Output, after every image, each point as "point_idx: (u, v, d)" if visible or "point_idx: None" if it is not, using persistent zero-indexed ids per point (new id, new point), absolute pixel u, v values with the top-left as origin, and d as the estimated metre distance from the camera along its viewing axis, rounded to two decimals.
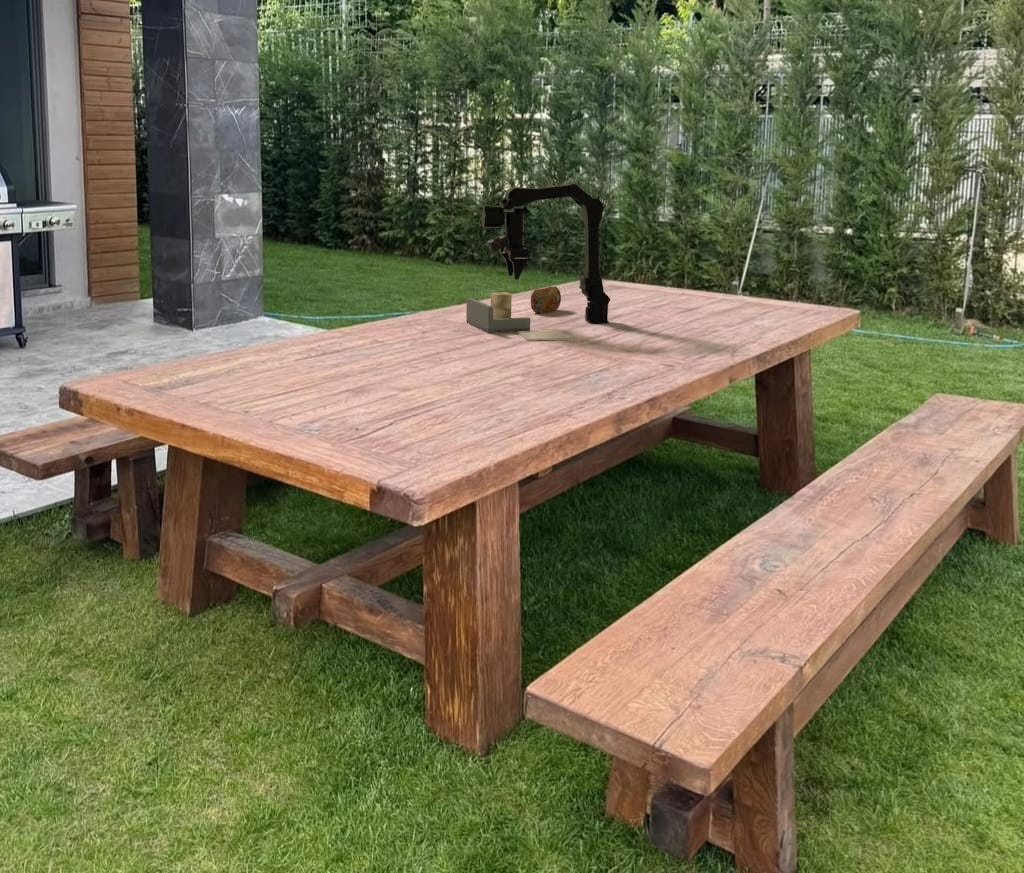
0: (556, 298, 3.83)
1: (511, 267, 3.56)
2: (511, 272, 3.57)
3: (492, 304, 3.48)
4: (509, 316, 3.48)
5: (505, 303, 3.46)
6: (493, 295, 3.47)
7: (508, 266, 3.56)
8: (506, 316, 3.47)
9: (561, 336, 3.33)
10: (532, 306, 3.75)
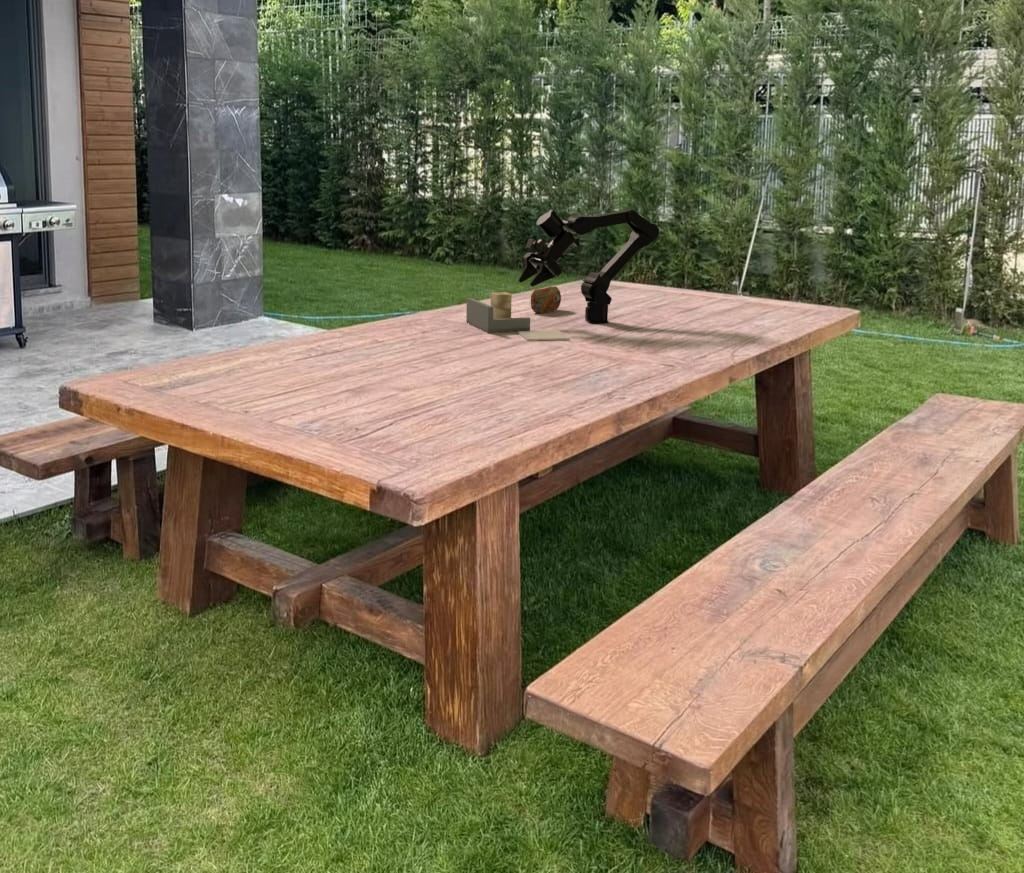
0: (556, 298, 3.83)
1: (525, 276, 3.54)
2: (522, 279, 3.54)
3: (492, 304, 3.48)
4: (509, 316, 3.48)
5: (505, 303, 3.46)
6: (493, 295, 3.47)
7: (524, 273, 3.53)
8: (506, 316, 3.47)
9: (561, 336, 3.33)
10: (532, 306, 3.75)
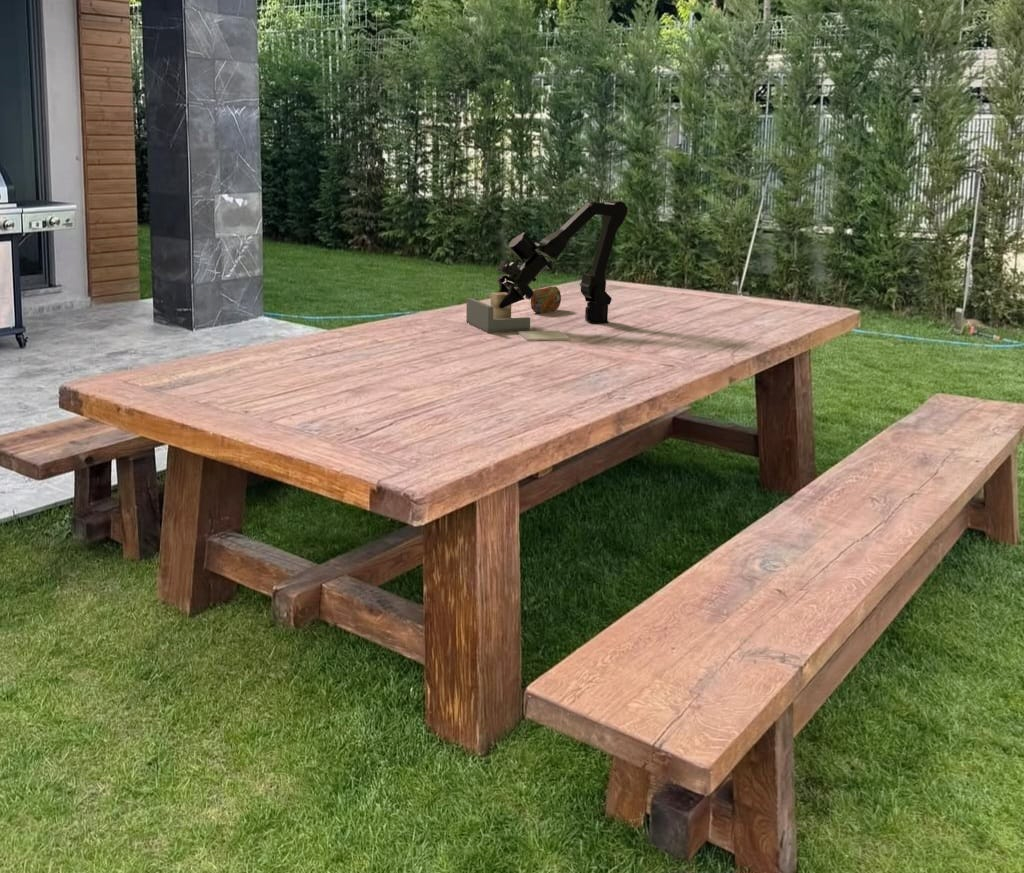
0: (556, 298, 3.83)
1: None
2: None
3: (492, 304, 3.48)
4: (509, 316, 3.48)
5: None
6: (493, 295, 3.47)
7: None
8: (506, 316, 3.47)
9: (561, 336, 3.33)
10: (532, 306, 3.75)
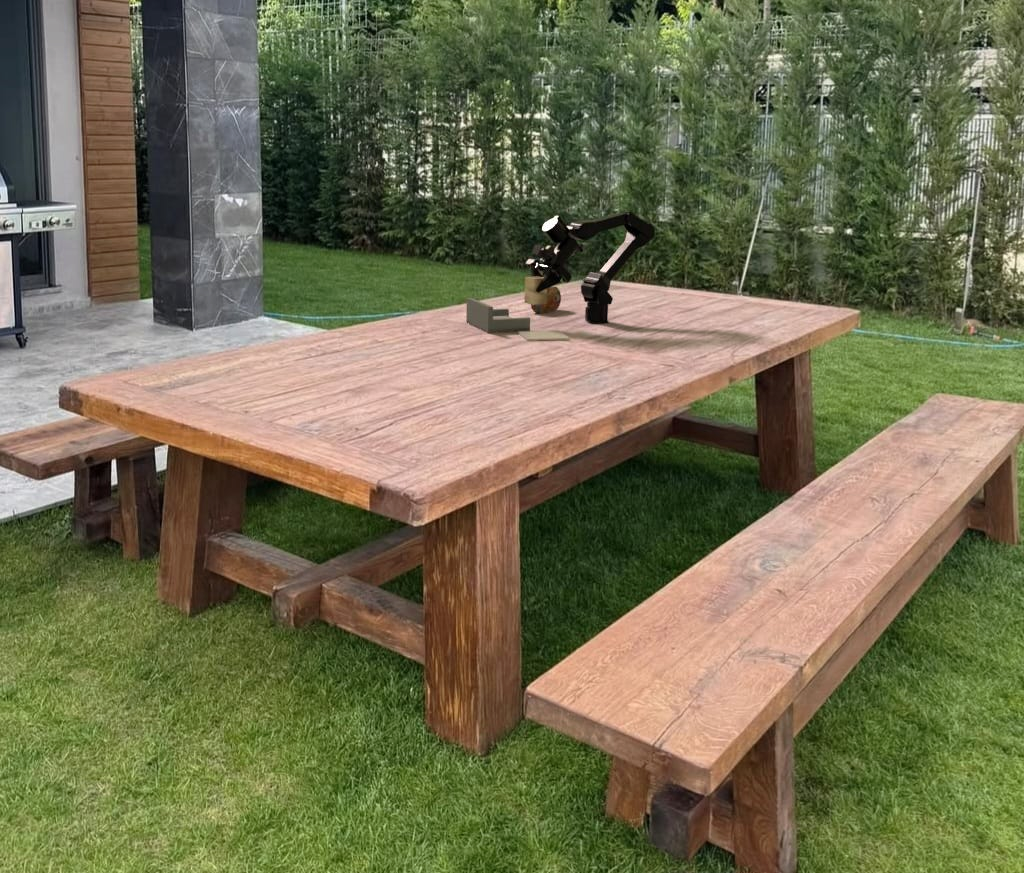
0: (556, 298, 3.83)
1: None
2: None
3: (527, 288, 3.46)
4: (545, 300, 3.47)
5: None
6: (529, 279, 3.45)
7: None
8: (542, 300, 3.46)
9: (561, 336, 3.33)
10: (532, 306, 3.75)
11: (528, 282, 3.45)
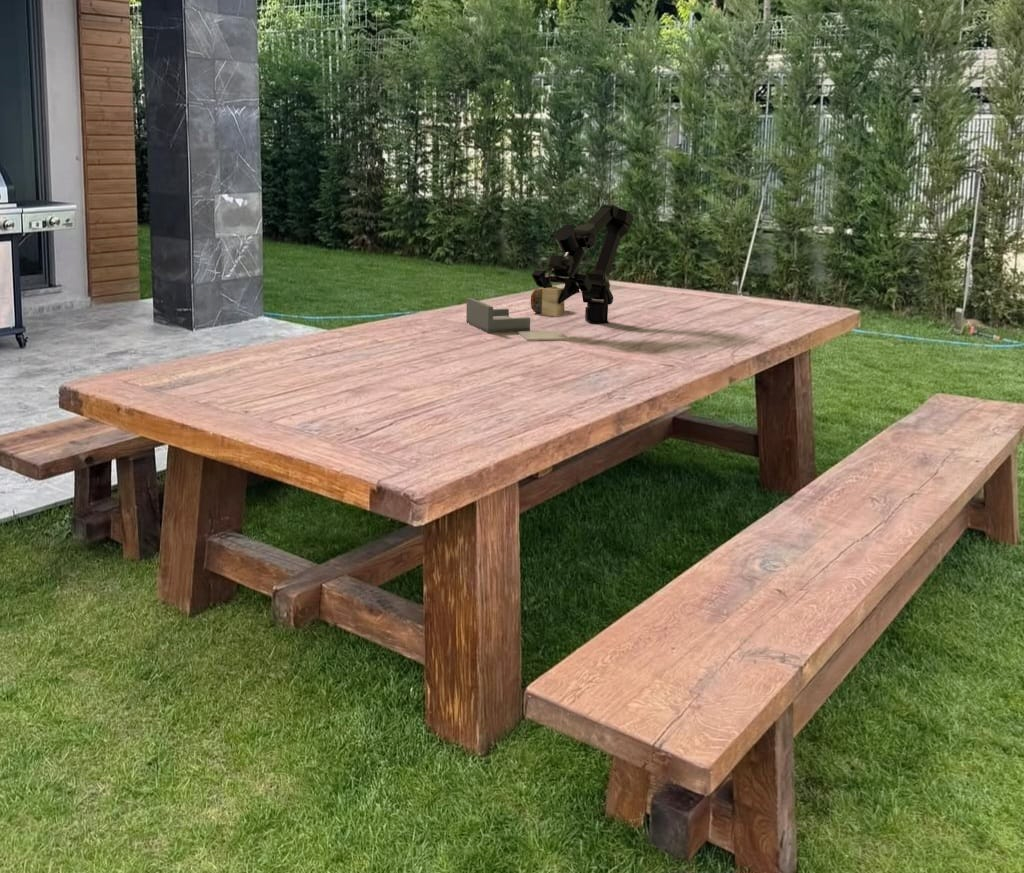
0: None
1: None
2: None
3: (546, 300, 3.35)
4: (563, 311, 3.38)
5: None
6: (548, 291, 3.34)
7: None
8: (561, 311, 3.37)
9: (561, 336, 3.33)
10: (532, 306, 3.75)
11: (548, 293, 3.34)
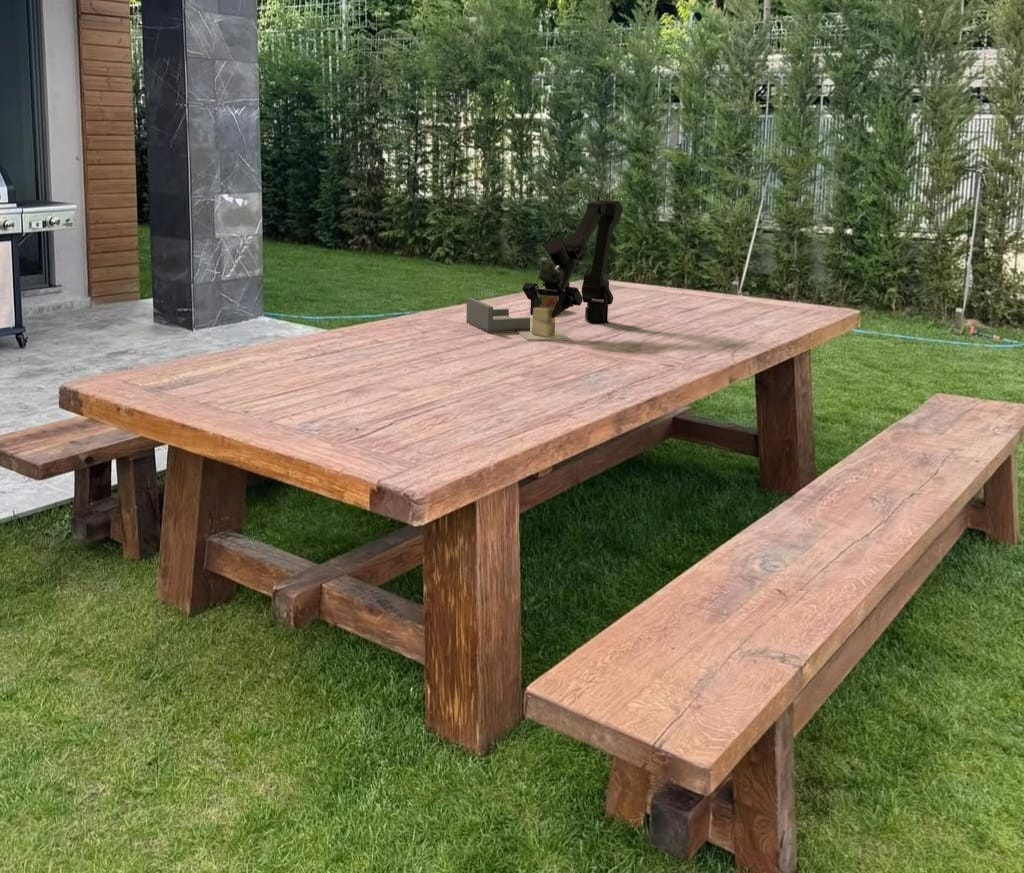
0: (556, 298, 3.83)
1: None
2: None
3: (536, 320, 3.32)
4: (553, 331, 3.35)
5: (552, 318, 3.33)
6: (539, 310, 3.31)
7: (534, 305, 3.35)
8: (552, 331, 3.34)
9: (561, 336, 3.33)
10: None
11: (538, 313, 3.31)
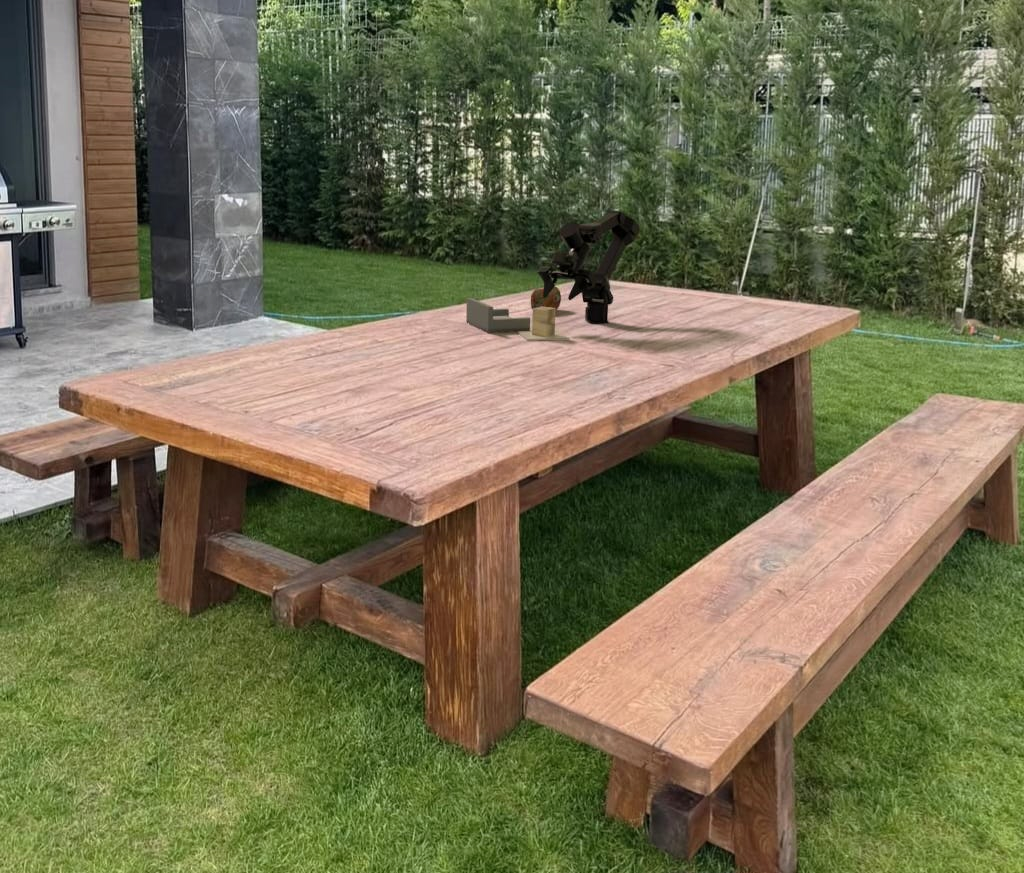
0: (556, 298, 3.83)
1: (548, 291, 3.43)
2: (546, 295, 3.42)
3: (536, 320, 3.32)
4: (553, 331, 3.35)
5: (552, 318, 3.33)
6: (539, 311, 3.31)
7: (546, 288, 3.42)
8: (552, 331, 3.34)
9: (561, 336, 3.33)
10: (532, 306, 3.75)
11: (538, 313, 3.31)
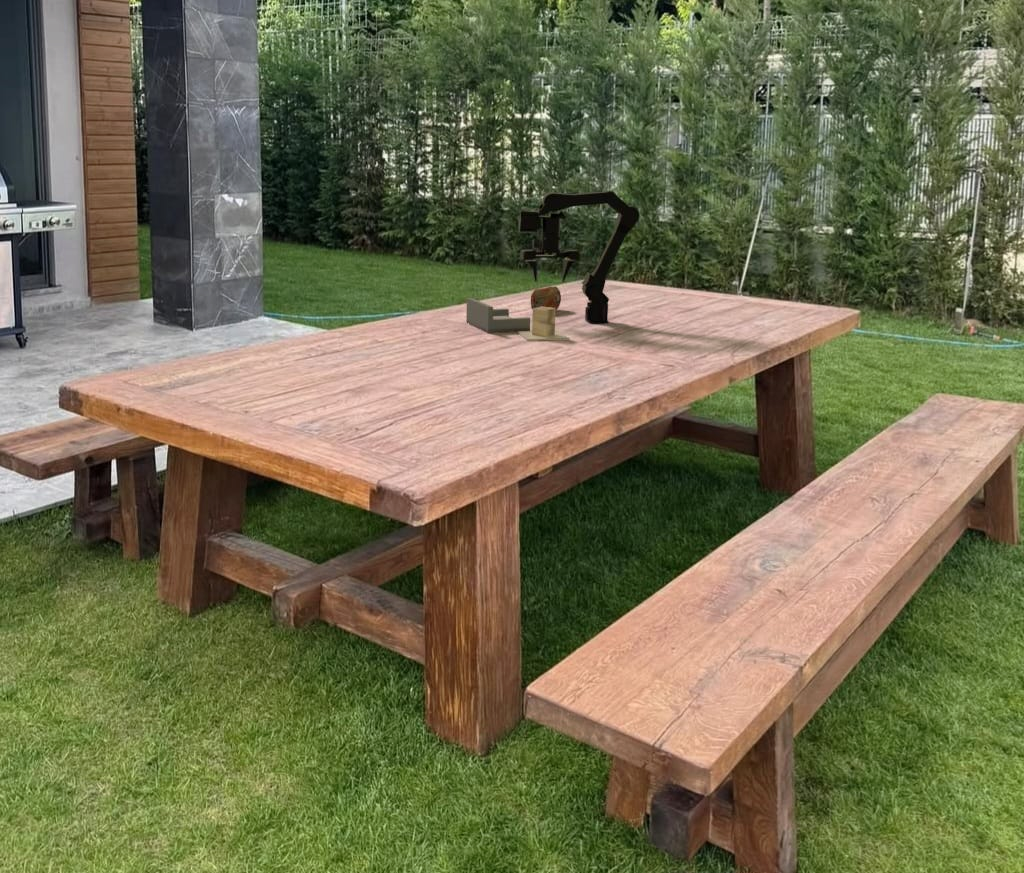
0: (556, 298, 3.83)
1: (563, 273, 3.58)
2: (562, 278, 3.58)
3: (536, 320, 3.32)
4: (553, 331, 3.35)
5: (552, 318, 3.33)
6: (539, 311, 3.31)
7: None
8: (552, 331, 3.34)
9: (561, 336, 3.33)
10: (532, 306, 3.75)
11: (538, 313, 3.31)
